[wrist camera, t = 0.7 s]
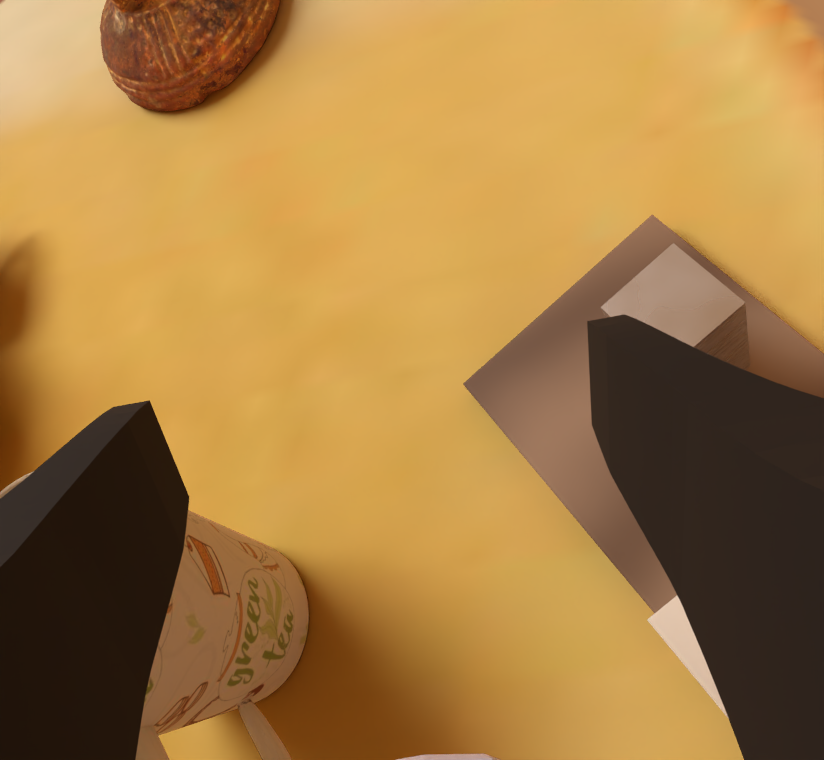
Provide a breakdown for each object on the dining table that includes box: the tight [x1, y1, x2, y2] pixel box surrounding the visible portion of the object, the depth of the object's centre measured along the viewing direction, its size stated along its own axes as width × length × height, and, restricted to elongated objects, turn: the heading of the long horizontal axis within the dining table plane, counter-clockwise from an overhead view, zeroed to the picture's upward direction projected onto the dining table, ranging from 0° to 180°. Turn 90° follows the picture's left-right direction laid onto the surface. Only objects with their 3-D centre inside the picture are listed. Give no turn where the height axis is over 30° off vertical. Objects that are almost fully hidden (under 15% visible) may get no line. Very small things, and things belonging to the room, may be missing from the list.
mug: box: [0, 471, 309, 760], centre depth 24 cm, size 8×13×10 cm, turn 41°
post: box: [601, 243, 750, 370], centre depth 22 cm, size 3×3×5 cm
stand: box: [464, 215, 824, 613], centre depth 23 cm, size 18×9×1 cm, turn 36°
